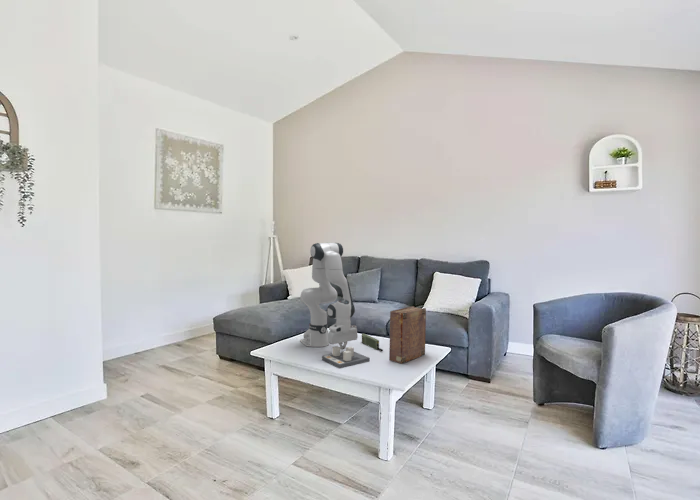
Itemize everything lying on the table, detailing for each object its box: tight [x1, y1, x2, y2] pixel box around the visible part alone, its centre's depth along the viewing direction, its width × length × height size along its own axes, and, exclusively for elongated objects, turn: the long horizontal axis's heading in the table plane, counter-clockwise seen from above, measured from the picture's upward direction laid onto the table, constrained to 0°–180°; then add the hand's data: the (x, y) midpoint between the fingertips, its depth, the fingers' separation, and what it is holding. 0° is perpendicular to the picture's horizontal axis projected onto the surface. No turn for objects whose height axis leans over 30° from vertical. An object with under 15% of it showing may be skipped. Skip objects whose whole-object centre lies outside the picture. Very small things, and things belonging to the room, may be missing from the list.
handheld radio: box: [361, 333, 384, 352], centre depth 261 cm, size 7×3×25 cm
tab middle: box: [345, 346, 355, 357], centre depth 233 cm, size 3×4×5 cm
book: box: [388, 305, 427, 365], centre depth 239 cm, size 25×9×30 cm, turn 137°
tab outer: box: [343, 350, 351, 361], centre depth 225 cm, size 3×4×5 cm
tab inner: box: [331, 345, 341, 357], centre depth 234 cm, size 3×4×5 cm
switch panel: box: [321, 351, 370, 369], centre depth 232 cm, size 18×22×2 cm
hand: (342, 349), depth 237 cm, fingers closed
